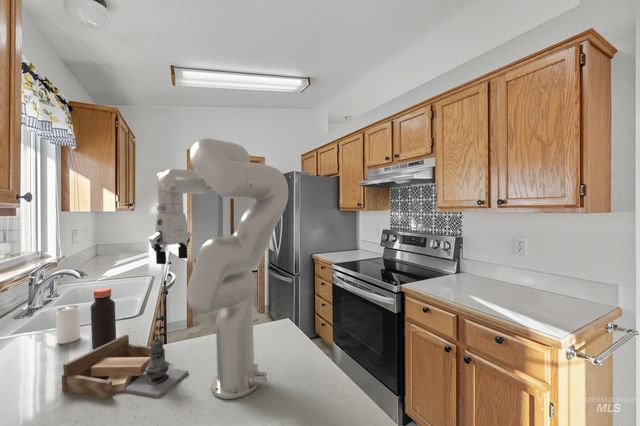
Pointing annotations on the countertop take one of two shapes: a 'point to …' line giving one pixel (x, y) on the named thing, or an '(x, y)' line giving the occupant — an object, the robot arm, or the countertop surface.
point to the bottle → (103, 318)
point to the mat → (155, 390)
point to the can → (68, 324)
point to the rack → (80, 368)
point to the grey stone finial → (157, 364)
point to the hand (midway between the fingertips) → (172, 260)
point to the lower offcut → (119, 382)
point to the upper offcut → (121, 366)
